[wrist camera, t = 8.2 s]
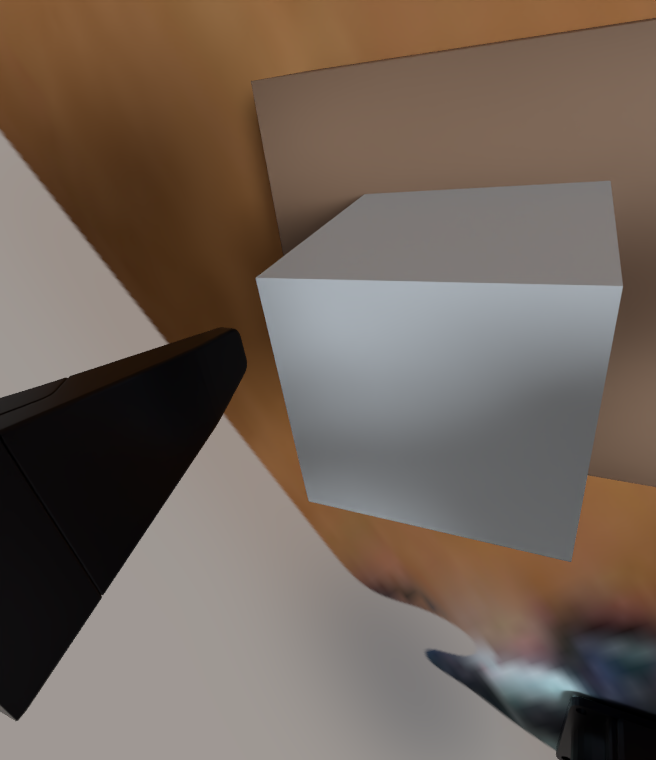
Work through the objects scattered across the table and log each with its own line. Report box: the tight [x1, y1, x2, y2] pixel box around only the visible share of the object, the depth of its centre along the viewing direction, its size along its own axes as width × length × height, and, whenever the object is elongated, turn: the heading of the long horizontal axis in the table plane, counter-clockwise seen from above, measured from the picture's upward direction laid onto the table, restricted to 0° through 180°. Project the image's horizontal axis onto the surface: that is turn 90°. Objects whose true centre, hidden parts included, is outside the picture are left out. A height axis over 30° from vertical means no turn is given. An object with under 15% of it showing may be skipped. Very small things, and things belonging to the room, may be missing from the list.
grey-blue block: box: [256, 181, 623, 562], centre depth 10 cm, size 5×5×5 cm
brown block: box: [251, 18, 656, 487], centre depth 13 cm, size 10×10×3 cm
